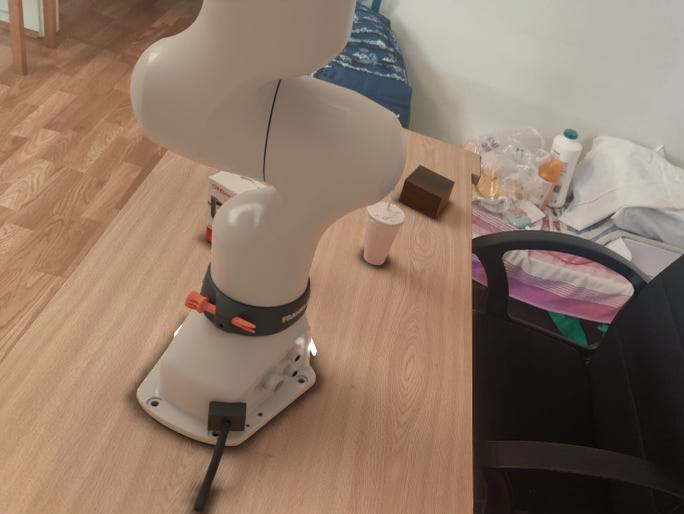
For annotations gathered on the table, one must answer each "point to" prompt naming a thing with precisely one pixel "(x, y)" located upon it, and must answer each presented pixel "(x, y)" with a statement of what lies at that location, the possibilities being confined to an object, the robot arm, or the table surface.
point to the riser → (426, 191)
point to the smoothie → (381, 230)
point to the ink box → (225, 193)
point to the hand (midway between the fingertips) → (319, 62)
